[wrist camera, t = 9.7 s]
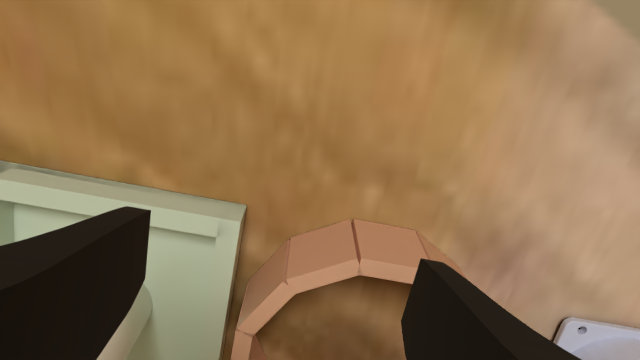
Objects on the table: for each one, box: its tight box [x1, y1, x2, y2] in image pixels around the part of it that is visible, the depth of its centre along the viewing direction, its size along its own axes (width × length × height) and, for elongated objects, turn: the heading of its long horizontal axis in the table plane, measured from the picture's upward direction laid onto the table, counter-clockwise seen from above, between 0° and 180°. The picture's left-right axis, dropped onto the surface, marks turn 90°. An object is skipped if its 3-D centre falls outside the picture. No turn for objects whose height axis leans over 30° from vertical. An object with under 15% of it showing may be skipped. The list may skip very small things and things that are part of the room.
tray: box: [0, 160, 247, 360], centre depth 23 cm, size 12×13×2 cm
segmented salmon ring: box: [231, 219, 466, 360], centre depth 23 cm, size 13×13×4 cm
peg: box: [97, 284, 152, 360], centre depth 20 cm, size 4×4×7 cm
